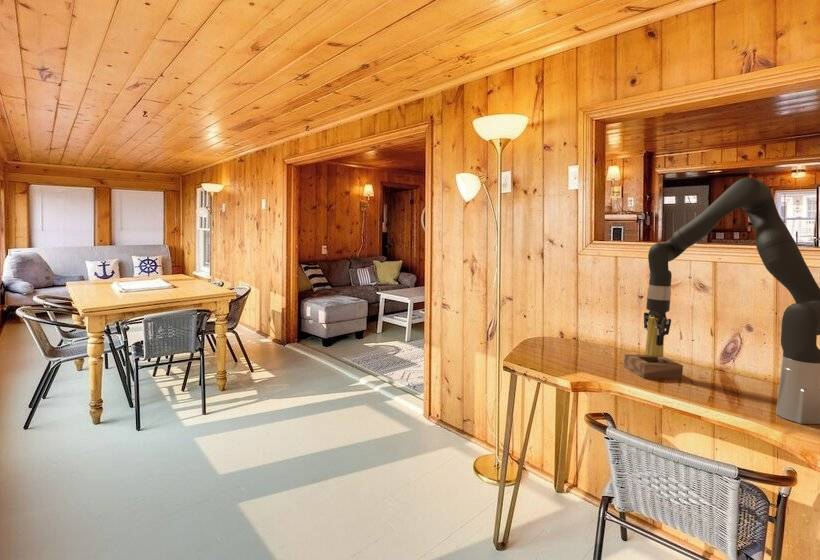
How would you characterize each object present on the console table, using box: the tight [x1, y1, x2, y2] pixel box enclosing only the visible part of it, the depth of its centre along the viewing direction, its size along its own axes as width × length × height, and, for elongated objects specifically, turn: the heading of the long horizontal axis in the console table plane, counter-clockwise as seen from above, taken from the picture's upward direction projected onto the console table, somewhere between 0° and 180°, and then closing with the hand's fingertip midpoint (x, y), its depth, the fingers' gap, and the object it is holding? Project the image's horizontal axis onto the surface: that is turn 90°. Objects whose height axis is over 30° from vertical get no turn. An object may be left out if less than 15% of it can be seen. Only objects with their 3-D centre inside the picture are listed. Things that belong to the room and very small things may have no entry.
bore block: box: [623, 353, 684, 380], centre depth 174 cm, size 14×14×5 cm
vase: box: [644, 316, 664, 357], centre depth 173 cm, size 6×6×14 cm
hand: (654, 343), depth 173 cm, fingers closed on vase, 5 cm apart
